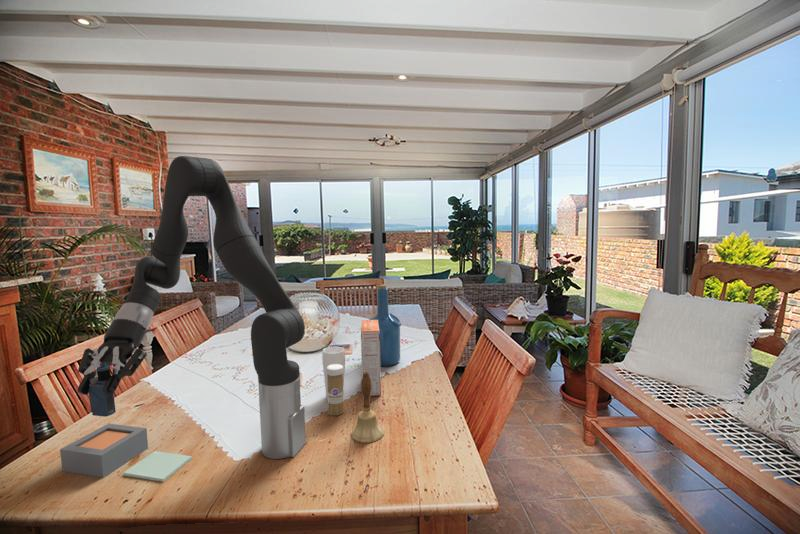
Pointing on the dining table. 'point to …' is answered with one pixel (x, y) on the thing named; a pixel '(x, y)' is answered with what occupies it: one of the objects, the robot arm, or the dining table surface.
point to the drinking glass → (333, 361)
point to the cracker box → (371, 354)
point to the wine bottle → (387, 330)
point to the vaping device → (101, 393)
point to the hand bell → (366, 417)
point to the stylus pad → (158, 466)
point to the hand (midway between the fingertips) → (94, 393)
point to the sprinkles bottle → (335, 389)
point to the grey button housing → (104, 451)
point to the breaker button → (104, 440)
